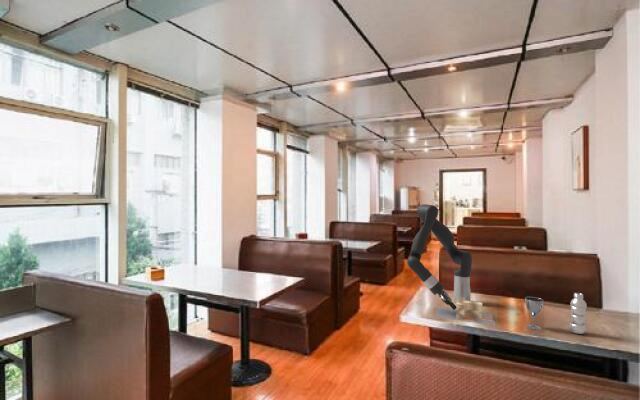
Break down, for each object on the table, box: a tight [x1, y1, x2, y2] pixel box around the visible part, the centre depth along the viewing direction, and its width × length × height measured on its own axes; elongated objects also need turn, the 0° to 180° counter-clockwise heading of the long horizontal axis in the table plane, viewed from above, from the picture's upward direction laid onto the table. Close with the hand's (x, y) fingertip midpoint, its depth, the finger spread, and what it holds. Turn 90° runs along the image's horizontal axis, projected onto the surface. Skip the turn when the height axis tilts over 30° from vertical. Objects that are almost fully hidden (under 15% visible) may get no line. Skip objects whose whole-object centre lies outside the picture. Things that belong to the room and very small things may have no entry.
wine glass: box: [524, 296, 544, 331], centre depth 174 cm, size 8×8×15 cm
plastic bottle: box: [568, 292, 587, 335], centre depth 167 cm, size 6×7×20 cm
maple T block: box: [456, 297, 483, 320], centre depth 186 cm, size 13×14×8 cm
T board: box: [434, 306, 497, 326], centre depth 187 cm, size 30×18×1 cm, turn 67°
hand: (455, 308), depth 189 cm, fingers closed
